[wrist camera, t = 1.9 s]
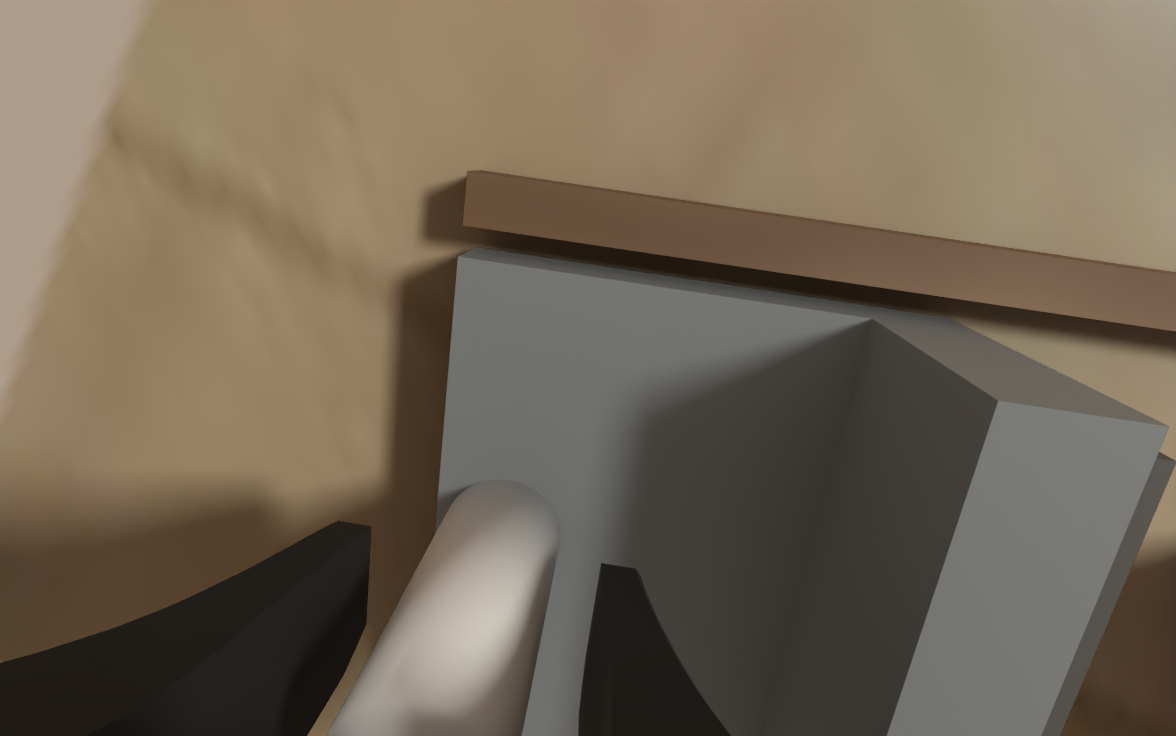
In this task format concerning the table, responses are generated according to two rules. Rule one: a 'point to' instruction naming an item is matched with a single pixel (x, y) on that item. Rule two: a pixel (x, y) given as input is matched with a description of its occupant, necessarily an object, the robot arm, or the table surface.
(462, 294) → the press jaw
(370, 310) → the table surface
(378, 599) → the table surface
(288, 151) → the table surface
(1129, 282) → the frame
